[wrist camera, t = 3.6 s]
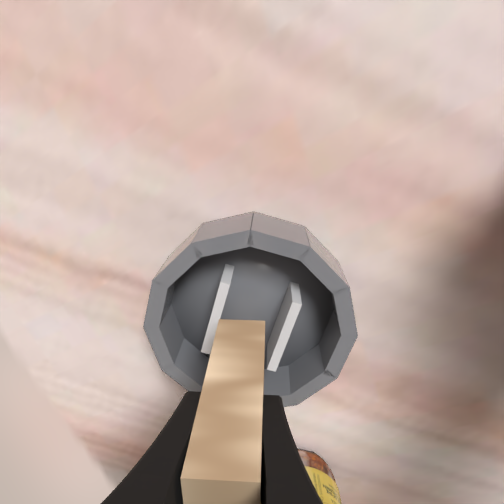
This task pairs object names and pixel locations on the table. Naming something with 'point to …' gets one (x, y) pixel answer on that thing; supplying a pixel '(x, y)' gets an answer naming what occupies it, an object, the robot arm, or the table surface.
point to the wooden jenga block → (228, 420)
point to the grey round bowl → (253, 303)
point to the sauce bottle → (321, 477)
